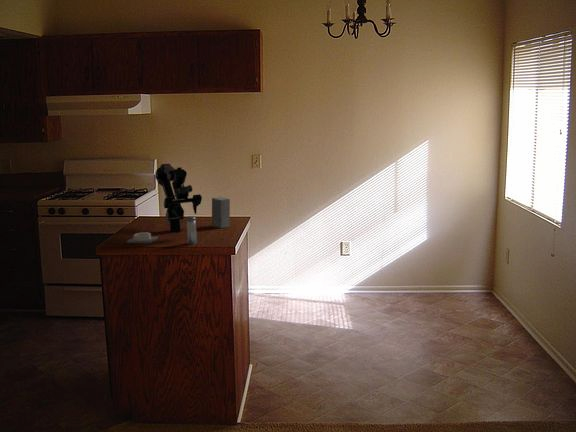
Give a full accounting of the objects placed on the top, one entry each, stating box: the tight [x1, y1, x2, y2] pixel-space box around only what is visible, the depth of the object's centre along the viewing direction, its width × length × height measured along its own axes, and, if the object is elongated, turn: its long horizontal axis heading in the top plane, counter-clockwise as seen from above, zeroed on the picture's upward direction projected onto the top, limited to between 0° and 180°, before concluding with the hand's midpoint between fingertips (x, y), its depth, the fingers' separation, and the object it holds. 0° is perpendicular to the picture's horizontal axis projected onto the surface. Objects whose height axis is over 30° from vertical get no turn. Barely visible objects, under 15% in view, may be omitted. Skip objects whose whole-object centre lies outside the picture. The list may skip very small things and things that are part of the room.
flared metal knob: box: [185, 215, 198, 246], centre depth 309 cm, size 5×5×13 cm
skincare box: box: [211, 196, 231, 229], centre depth 345 cm, size 8×7×16 cm
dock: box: [126, 232, 159, 244], centre depth 320 cm, size 11×12×3 cm
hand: (186, 214), depth 315 cm, fingers open, 9 cm apart
